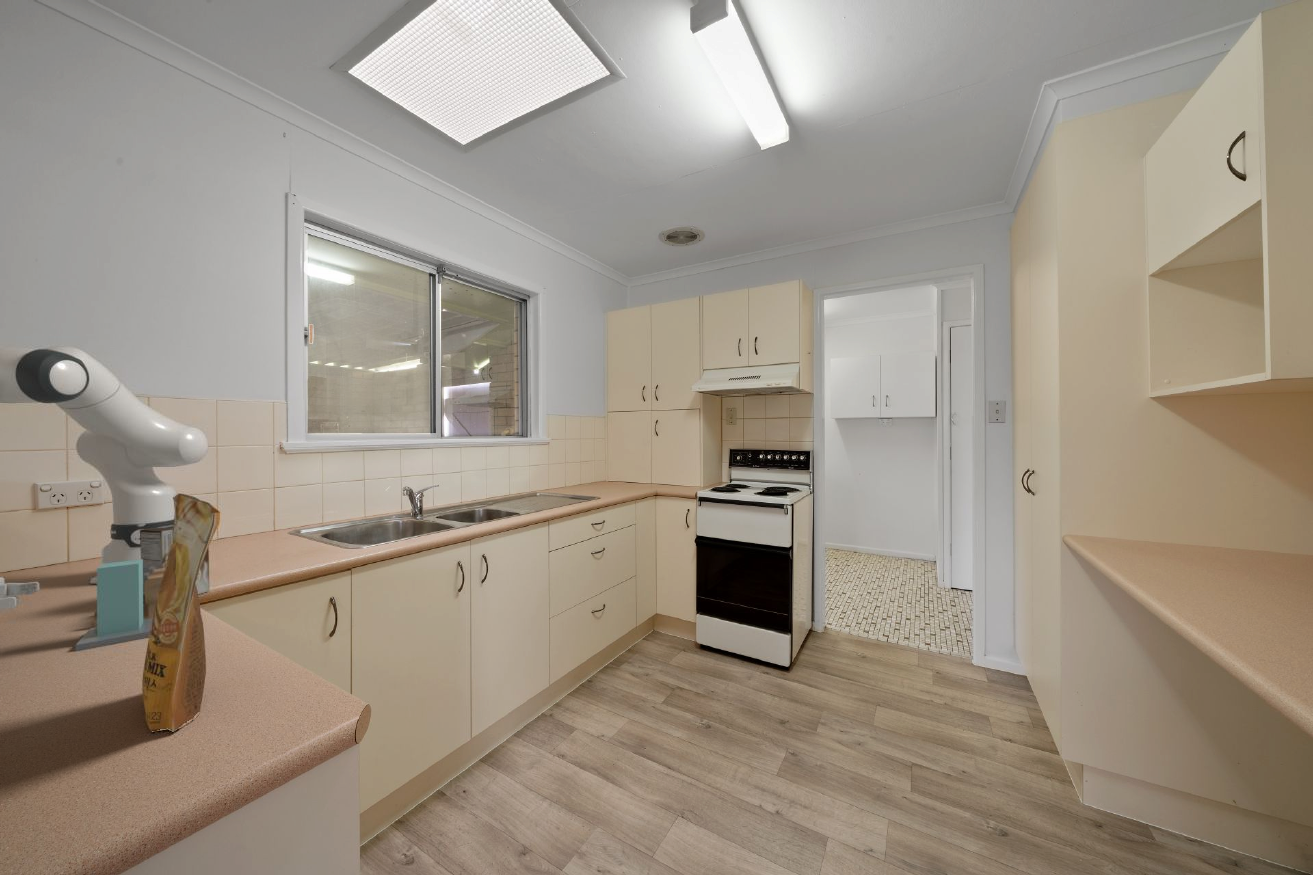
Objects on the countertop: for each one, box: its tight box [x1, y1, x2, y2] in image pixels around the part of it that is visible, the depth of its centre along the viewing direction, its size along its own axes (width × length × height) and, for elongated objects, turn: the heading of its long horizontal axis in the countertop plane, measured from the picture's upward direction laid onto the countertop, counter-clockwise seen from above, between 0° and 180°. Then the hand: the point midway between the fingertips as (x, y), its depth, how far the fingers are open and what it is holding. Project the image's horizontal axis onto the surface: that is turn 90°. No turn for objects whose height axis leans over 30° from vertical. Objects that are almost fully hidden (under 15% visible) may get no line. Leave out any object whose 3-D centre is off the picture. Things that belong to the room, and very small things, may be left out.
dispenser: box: [93, 565, 165, 628], centre depth 97 cm, size 9×12×9 cm
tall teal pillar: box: [96, 559, 143, 637], centre depth 87 cm, size 4×5×12 cm
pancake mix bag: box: [141, 492, 221, 733], centre depth 64 cm, size 7×19×28 cm, turn 48°
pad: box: [75, 618, 153, 652], centre depth 87 cm, size 9×9×1 cm
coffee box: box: [140, 525, 211, 595], centre depth 107 cm, size 9×6×16 cm
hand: (28, 594), depth 80 cm, fingers open, 8 cm apart
